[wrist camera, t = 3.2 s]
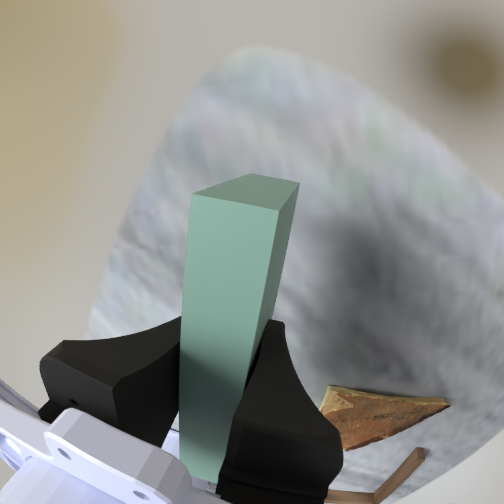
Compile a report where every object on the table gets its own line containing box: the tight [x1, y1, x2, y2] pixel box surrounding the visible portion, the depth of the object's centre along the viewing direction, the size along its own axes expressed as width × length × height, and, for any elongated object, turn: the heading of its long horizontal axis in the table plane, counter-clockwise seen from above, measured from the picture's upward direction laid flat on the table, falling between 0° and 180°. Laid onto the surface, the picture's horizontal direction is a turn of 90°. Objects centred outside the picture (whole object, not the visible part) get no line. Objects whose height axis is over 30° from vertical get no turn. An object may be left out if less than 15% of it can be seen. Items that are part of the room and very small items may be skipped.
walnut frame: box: [324, 448, 425, 504], centre depth 24 cm, size 16×11×2 cm
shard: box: [319, 385, 451, 452], centre depth 21 cm, size 11×8×2 cm
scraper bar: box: [179, 174, 300, 484], centre depth 12 cm, size 12×2×6 cm, turn 171°
